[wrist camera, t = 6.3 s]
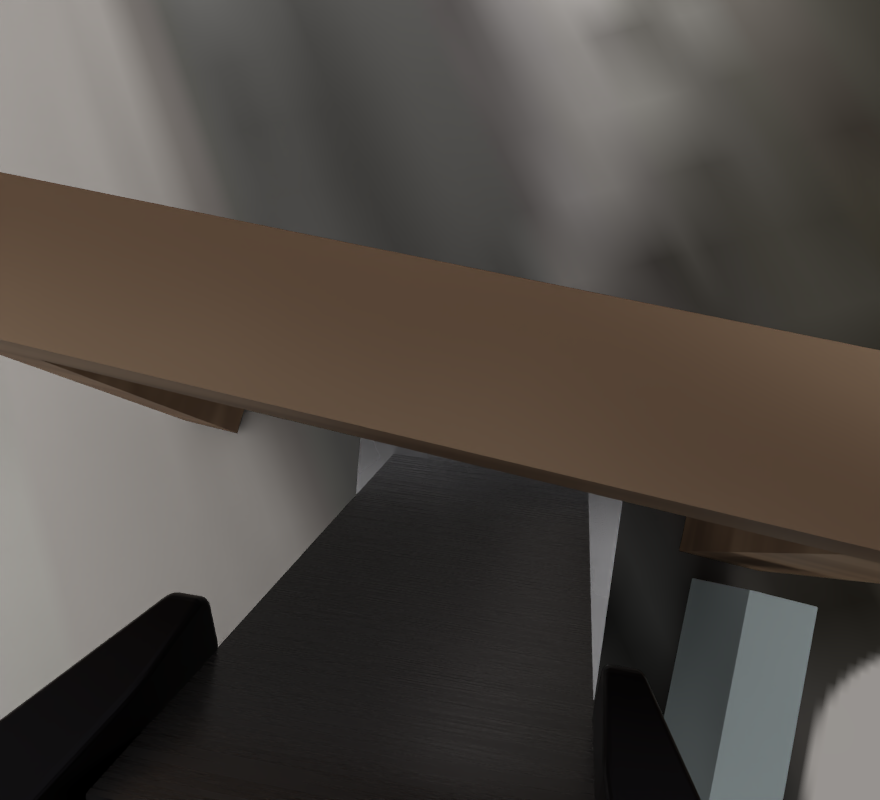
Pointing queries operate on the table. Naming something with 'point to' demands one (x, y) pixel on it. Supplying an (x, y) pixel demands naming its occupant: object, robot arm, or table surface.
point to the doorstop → (404, 653)
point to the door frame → (457, 369)
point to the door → (738, 689)
